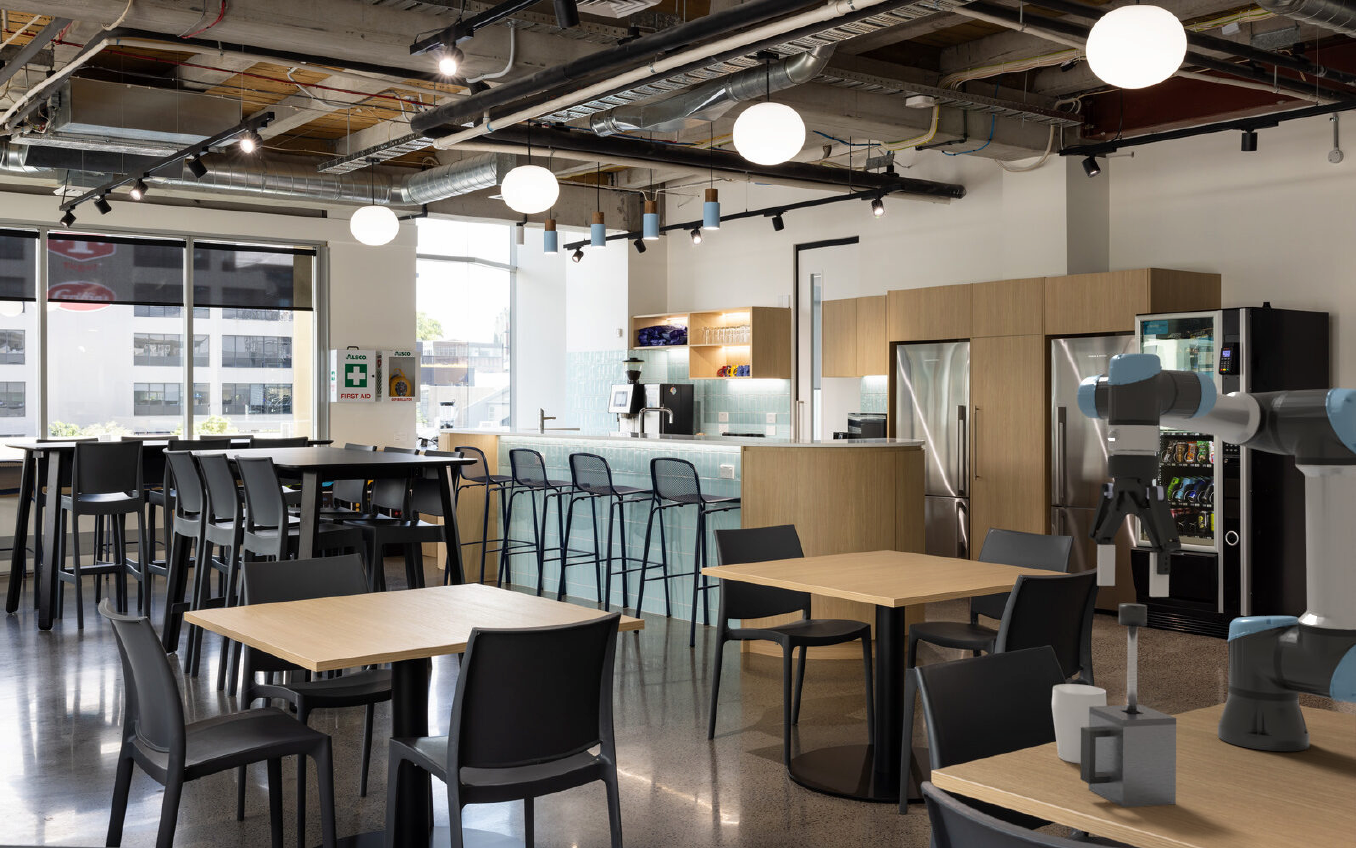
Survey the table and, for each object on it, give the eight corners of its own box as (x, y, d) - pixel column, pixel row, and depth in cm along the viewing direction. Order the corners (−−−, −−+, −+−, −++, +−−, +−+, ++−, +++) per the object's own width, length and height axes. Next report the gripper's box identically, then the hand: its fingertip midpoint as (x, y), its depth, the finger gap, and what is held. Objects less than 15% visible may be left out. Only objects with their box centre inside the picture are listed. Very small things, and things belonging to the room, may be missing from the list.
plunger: (1137, 731, 182) (1138, 602, 182) (1163, 742, 175) (1164, 607, 176) (1101, 733, 180) (1102, 602, 181) (1125, 743, 174) (1126, 608, 174)
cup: (1110, 768, 194) (1111, 696, 194) (1054, 764, 195) (1055, 693, 196) (1101, 754, 202) (1102, 685, 203) (1048, 750, 204) (1049, 682, 204)
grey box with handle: (1139, 786, 183) (1140, 704, 183) (1175, 804, 174) (1176, 718, 174) (1068, 790, 180) (1069, 707, 180) (1101, 808, 171) (1102, 721, 172)
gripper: (1067, 452, 190) (1065, 581, 189) (1162, 453, 165) (1160, 601, 165) (1108, 453, 191) (1106, 581, 191) (1208, 454, 167) (1206, 601, 167)
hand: (1131, 591), depth 178 cm, fingers open, 13 cm apart
